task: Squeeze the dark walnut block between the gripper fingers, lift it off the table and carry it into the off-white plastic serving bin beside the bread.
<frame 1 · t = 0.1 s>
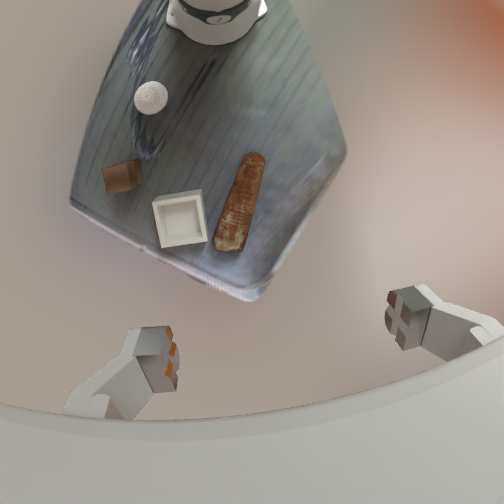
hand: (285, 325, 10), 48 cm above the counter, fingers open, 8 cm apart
walnut block: (130, 172, 53), on the counter
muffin: (155, 99, 48), on the counter
serving bin: (183, 214, 57), on the counter
bread: (237, 198, 57), on the counter
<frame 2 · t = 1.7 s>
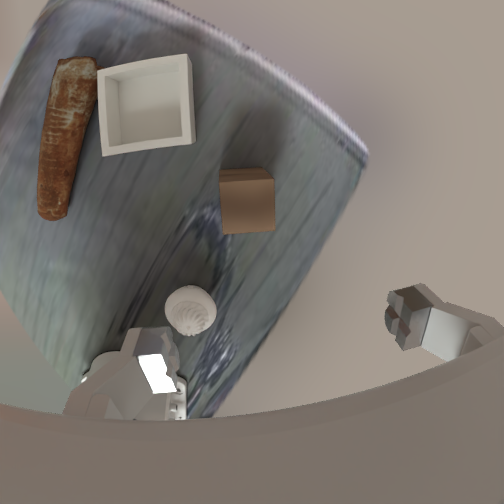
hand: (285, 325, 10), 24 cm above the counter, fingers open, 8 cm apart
walnut block: (241, 188, 33), on the counter
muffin: (192, 294, 37), on the counter
serving bin: (153, 107, 28), on the counter
bread: (75, 140, 28), on the counter
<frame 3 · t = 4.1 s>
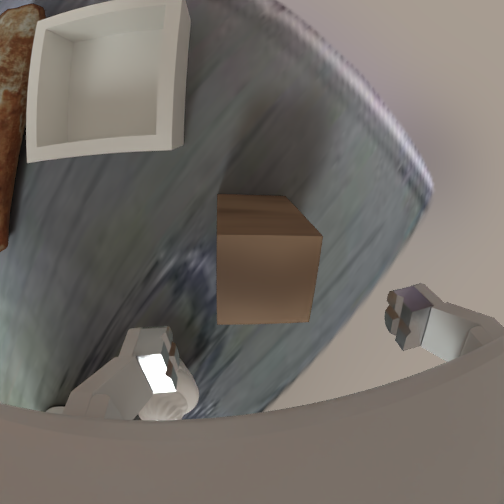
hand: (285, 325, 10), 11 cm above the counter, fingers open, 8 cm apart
walnut block: (250, 227, 21), on the counter
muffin: (166, 362, 25), on the counter
serving bin: (121, 84, 16), on the counter
bread: (17, 135, 16), on the counter
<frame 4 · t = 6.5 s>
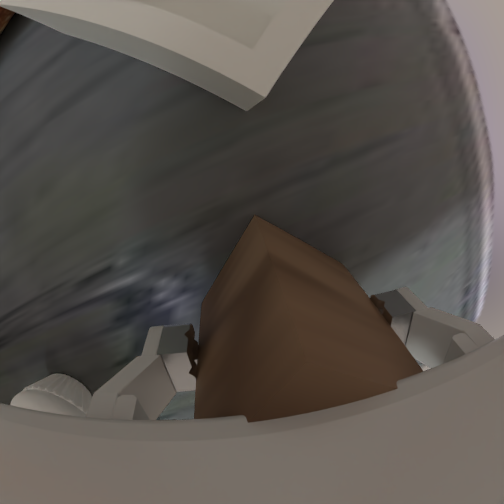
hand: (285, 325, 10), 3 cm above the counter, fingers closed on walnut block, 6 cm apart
walnut block: (272, 284, 13), on the counter, touching gripper
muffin: (71, 387, 15), on the counter
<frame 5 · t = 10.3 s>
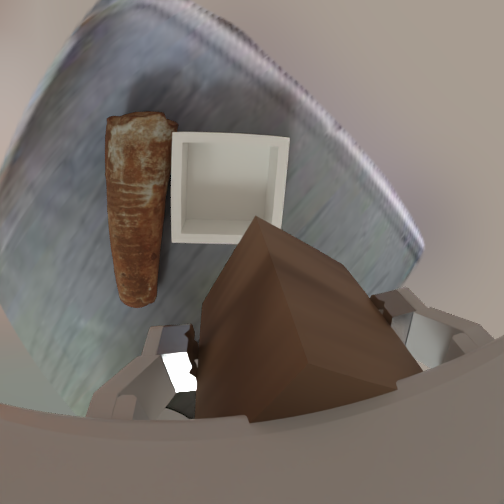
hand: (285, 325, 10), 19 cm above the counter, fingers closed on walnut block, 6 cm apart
walnut block: (273, 284, 13), point 16 cm above the counter, touching gripper
serving bin: (226, 179, 27), on the counter
bread: (147, 210, 28), on the counter
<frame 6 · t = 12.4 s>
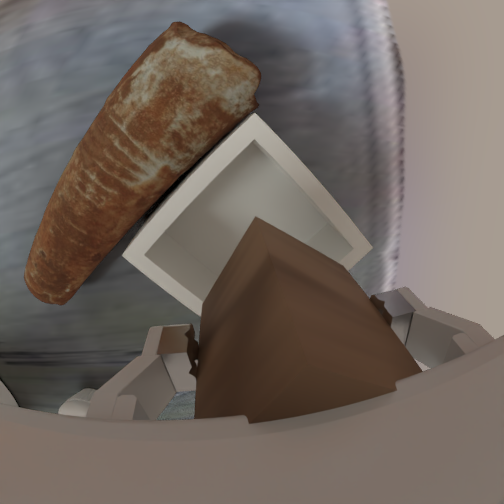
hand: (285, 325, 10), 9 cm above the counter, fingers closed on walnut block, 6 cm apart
walnut block: (273, 285, 13), point 6 cm above the counter, touching gripper
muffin: (96, 396, 24), on the counter
serving bin: (243, 218, 18), on the counter
bread: (125, 184, 17), on the counter
when the fingers open (6 cm above the counter, at t = 14.1 s): walnut block drops 3 cm, resting on serving bin.
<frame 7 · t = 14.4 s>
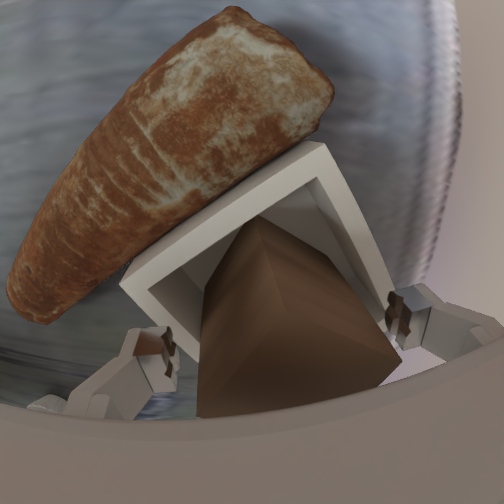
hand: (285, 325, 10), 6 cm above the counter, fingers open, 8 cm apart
walnut block: (266, 271, 15), point 1 cm above the counter, touching serving bin
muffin: (61, 403, 20), on the counter
serving bin: (264, 254, 16), on the counter
bread: (135, 195, 14), on the counter
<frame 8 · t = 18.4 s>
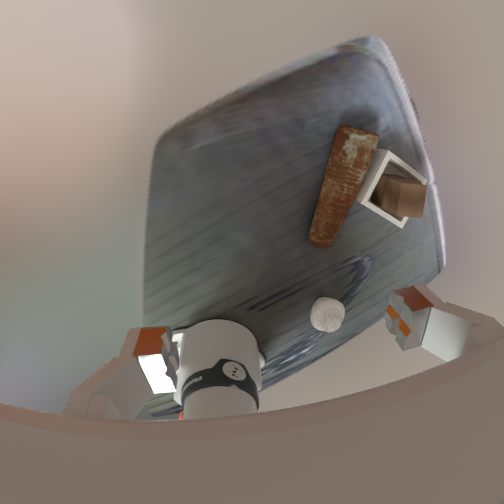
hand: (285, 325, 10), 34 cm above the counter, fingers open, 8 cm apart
walnut block: (384, 188, 43), point 1 cm above the counter, touching serving bin
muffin: (321, 303, 52), on the counter
serving bin: (380, 184, 44), on the counter
bread: (336, 186, 44), on the counter
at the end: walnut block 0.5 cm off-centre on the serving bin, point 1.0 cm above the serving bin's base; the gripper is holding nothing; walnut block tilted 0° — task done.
